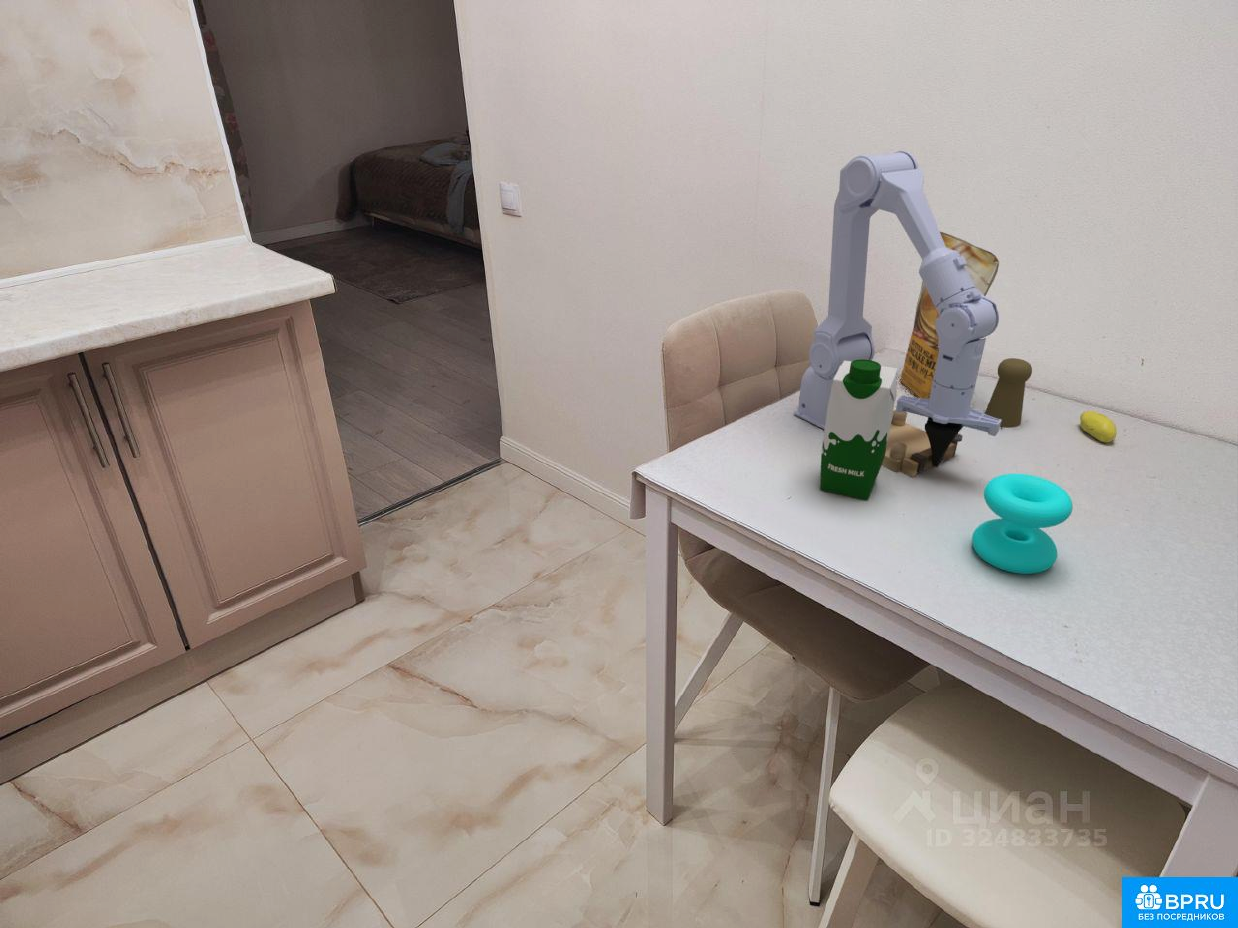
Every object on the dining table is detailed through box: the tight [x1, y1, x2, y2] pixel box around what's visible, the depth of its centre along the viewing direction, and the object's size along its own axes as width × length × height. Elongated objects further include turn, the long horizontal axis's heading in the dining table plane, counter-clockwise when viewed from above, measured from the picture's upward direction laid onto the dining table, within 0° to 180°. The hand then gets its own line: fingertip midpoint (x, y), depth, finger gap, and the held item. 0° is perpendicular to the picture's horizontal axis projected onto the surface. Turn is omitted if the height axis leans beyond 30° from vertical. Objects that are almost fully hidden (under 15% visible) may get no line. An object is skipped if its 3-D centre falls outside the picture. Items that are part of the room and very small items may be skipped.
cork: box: [984, 357, 1033, 429], centre depth 135 cm, size 6×6×11 cm
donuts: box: [971, 473, 1073, 575], centre depth 100 cm, size 10×10×10 cm
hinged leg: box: [911, 443, 955, 474], centre depth 122 cm, size 9×2×2 cm, turn 125°
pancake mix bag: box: [900, 231, 1000, 399], centre depth 141 cm, size 7×19×28 cm, turn 6°
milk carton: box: [819, 359, 898, 501], centre depth 113 cm, size 9×9×20 cm
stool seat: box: [881, 409, 963, 478], centre depth 126 cm, size 13×13×4 cm
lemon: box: [1079, 410, 1118, 443], centre depth 131 cm, size 4×8×4 cm, turn 179°
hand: (936, 463), depth 120 cm, fingers closed
